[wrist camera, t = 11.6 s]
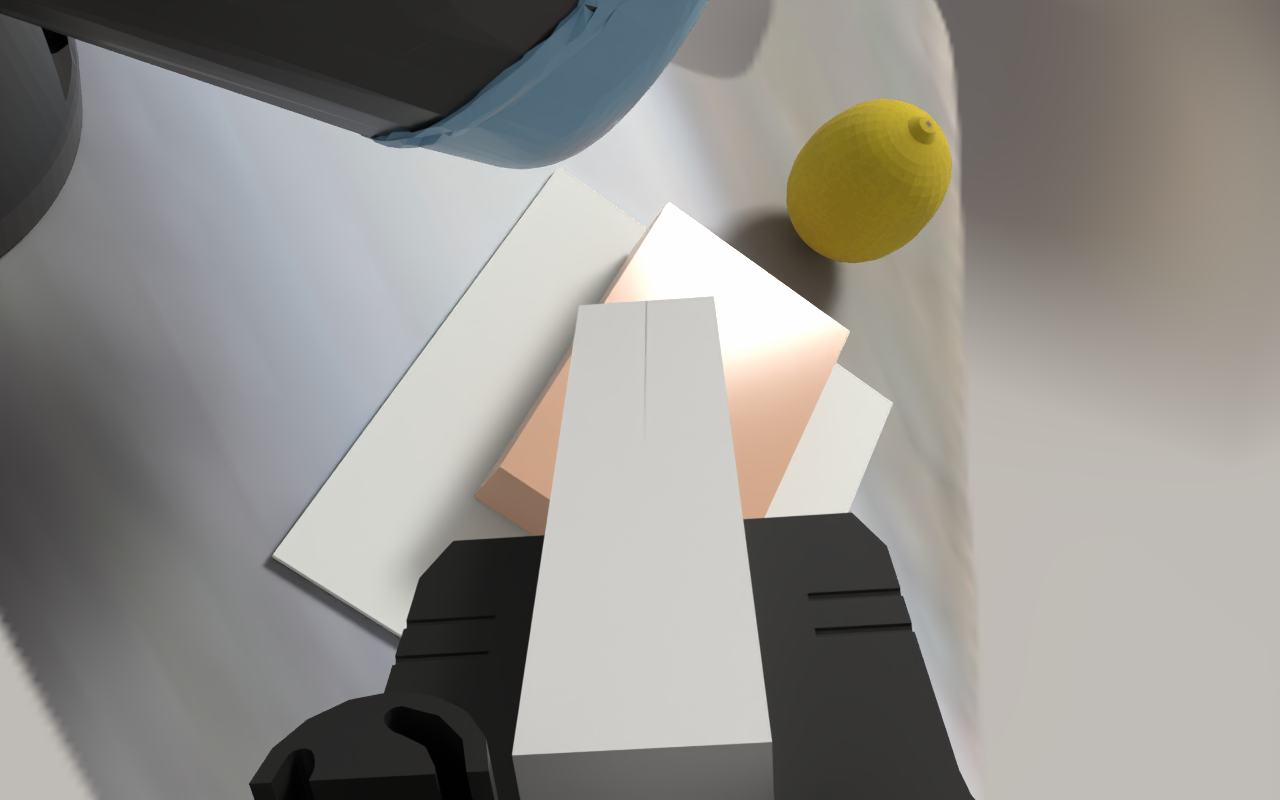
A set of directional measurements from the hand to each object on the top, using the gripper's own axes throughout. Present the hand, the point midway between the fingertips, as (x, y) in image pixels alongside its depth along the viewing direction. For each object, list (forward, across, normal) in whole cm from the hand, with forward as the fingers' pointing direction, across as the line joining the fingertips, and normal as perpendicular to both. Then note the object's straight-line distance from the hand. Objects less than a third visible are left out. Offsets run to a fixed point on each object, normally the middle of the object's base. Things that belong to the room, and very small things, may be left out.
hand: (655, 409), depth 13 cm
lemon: (+32, +6, -10) cm, 34 cm away
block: (+16, -3, -14) cm, 22 cm away
